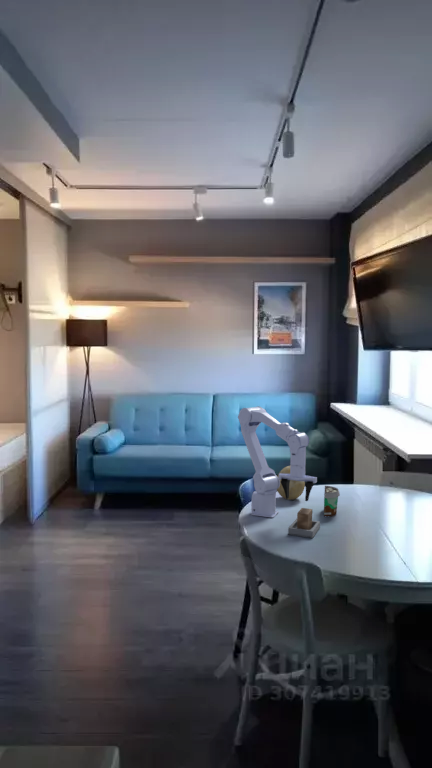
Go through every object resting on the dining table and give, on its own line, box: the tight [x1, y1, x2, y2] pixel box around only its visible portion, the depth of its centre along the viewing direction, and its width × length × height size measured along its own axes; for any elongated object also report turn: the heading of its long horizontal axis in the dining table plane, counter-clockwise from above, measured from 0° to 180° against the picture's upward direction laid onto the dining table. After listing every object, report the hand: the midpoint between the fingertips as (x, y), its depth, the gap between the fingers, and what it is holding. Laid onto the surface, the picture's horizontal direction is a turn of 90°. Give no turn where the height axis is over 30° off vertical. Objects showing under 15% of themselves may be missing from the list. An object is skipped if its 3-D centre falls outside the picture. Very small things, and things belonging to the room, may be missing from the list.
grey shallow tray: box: [287, 518, 321, 539], centre depth 211 cm, size 9×12×2 cm
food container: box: [323, 485, 341, 518], centre depth 233 cm, size 12×6×10 cm, turn 168°
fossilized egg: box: [276, 465, 306, 501], centre depth 253 cm, size 13×13×15 cm
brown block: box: [296, 507, 313, 530], centre depth 211 cm, size 4×7×7 cm, turn 158°
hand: (297, 499), depth 220 cm, fingers open, 7 cm apart
